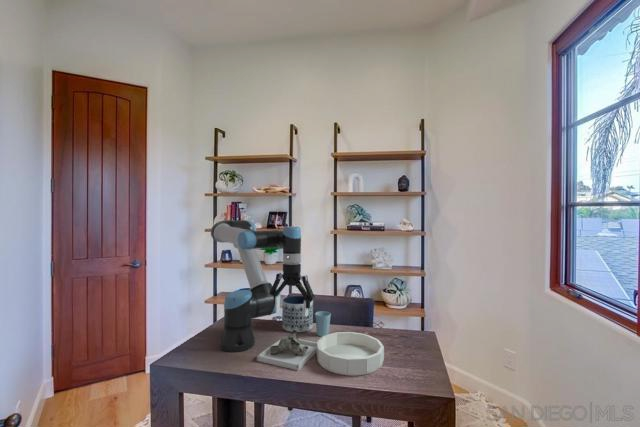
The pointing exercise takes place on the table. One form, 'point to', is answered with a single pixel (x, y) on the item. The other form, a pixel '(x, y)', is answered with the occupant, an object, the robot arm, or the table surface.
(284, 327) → the planter
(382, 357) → the bowl
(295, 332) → the decorative stone
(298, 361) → the tray
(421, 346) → the table surface
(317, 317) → the cup
